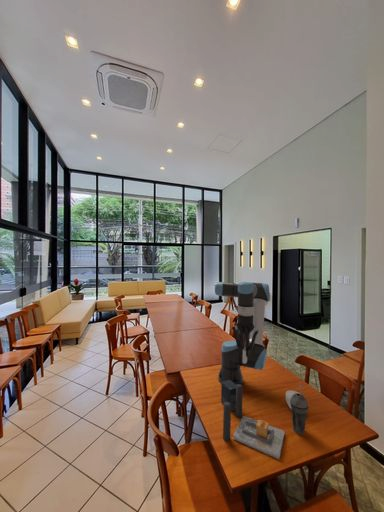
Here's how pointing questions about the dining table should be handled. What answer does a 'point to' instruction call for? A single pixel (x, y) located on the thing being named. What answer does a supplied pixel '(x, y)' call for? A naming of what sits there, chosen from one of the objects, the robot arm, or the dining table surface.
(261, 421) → the block
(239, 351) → the robot arm
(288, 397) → the cup
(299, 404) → the beverage cup
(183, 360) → the dining table surface
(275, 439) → the breaker panel
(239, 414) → the cord post
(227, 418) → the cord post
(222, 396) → the box
